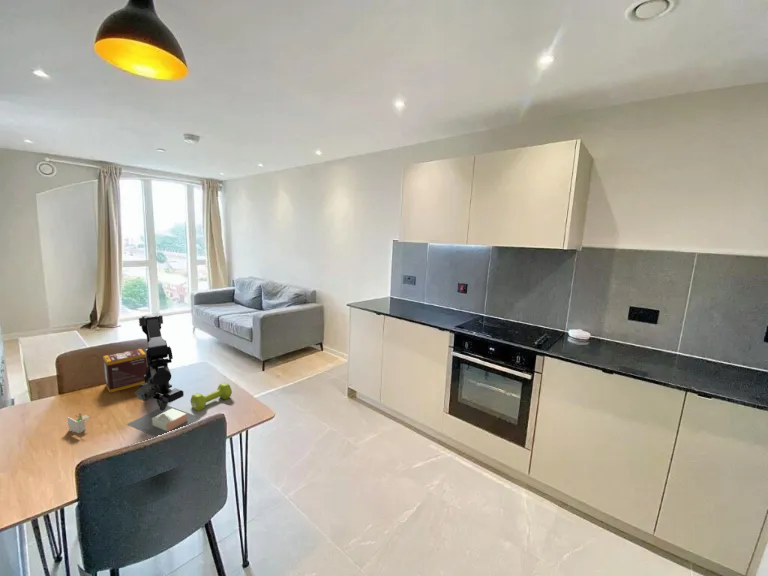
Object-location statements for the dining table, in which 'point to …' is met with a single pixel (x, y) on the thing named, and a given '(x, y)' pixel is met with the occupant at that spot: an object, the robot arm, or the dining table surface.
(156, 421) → the slab
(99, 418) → the dining table surface
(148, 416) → the mat
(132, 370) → the supplement box
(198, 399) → the dumbbell
